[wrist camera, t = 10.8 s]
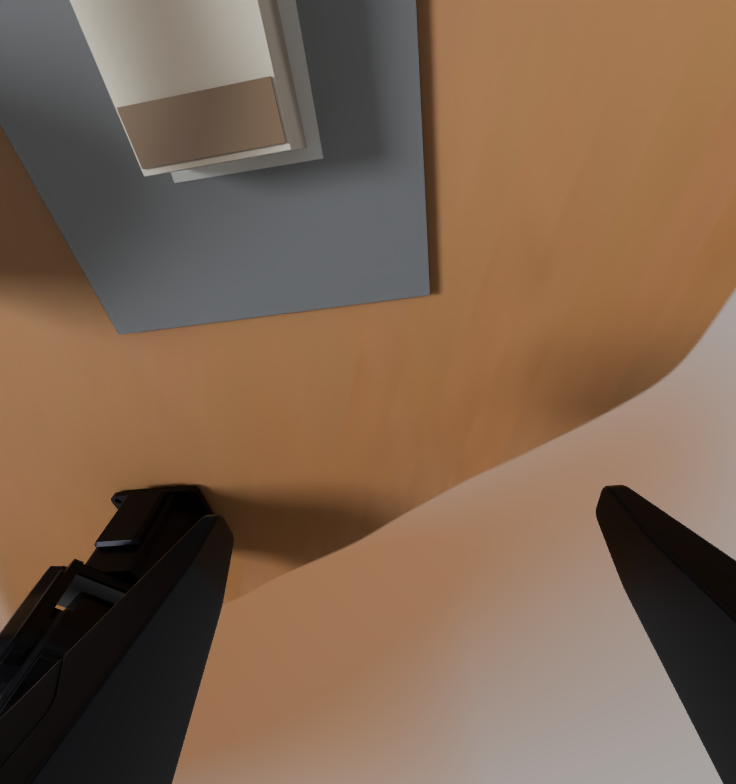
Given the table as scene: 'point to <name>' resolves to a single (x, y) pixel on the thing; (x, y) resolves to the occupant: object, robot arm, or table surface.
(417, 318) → the table surface
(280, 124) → the off-white banded block
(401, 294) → the charcoal mat
